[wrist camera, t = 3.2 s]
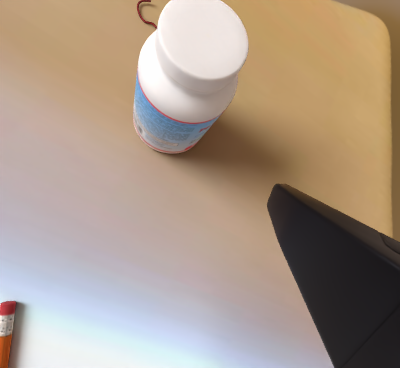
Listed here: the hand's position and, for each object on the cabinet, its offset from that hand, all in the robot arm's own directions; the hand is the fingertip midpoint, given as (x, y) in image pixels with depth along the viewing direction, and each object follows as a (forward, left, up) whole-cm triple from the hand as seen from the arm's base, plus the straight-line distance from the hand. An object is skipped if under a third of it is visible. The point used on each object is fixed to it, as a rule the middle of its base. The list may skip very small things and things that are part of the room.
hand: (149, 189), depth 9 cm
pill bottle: (+1, -8, -14) cm, 16 cm away
